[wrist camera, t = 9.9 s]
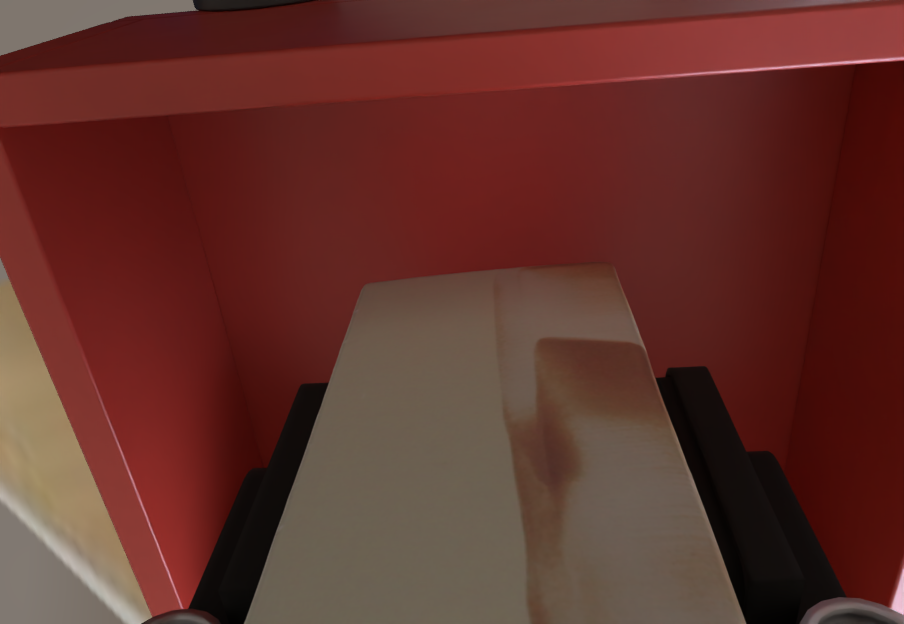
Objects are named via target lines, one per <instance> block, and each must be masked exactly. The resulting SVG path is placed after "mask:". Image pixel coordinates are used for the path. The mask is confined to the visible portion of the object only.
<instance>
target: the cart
mask: <svg viewBox="0 0 904 624" xmlns="http://www.w3.org/2000/svg"><path fill="white" fill-rule="evenodd" d="M193 2H194V6H195V8H196V9H197V10H199V11H187V12H178V13H165V14H155V15H154V14H153V15H142V16H131V17H125V18H122V19H119V20H116V21H113V22H109V23H105V24H101V25H98V26H95V27H92V28H89V29H86V30H82V31H79V32H76V33H72V34H69V35H66V36H63V37H59V38H56V39H53V40H50V41H46V42H43V43H40V44H37V45H34V46H30V47H27V48H24V49H21V50H17V51H14V52H11V53H8V54H4V55H1V56H0V258H1V260H2V263H3V265H4V268H5V270H6V272H7V275H8V277H9V280H10V282H11V284H12V287H13V289H14V291H15V294H16V296H17V298H18V301H19V303H20V305H21V308H22V310H23V313H24V315H25V317H26V320H27V322H28V324H29V327H30V329H31V331H32V334H33V336H34V339H35V341H36V343H37V346H38V348H39V350H40V353H41V355H42V357H43V360H44V362H45V364H46V367H47V369H48V372H49V374H50V376H51V379H52V381H53V383H54V386H55V388H56V390H57V393H58V395H59V398H60V400H61V402H62V405H63V407H64V409H65V412H66V414H67V416H68V419H69V421H70V423H71V426H72V428H73V431H74V433H75V435H76V438H77V440H78V442H79V445H80V447H81V449H82V452H83V454H84V457H85V459H86V461H87V464H88V466H89V468H90V471H91V473H92V475H93V478H94V480H95V482H96V485H97V487H98V490H99V492H100V494H101V497H102V499H103V501H104V504H105V506H106V508H107V511H108V513H109V516H110V518H111V520H112V523H113V525H114V527H115V530H116V532H117V534H118V537H119V539H120V541H121V544H122V546H123V549H124V551H125V553H126V556H127V558H128V560H129V563H130V565H131V567H132V570H133V572H134V575H135V577H136V579H137V582H138V584H139V586H140V589H141V591H142V593H143V596H144V598H145V600H146V603H147V605H148V608H149V610H150V612H151V615H152V617H154V616H157V615H160V614H163V613H166V612H169V611H172V610H180V609H188V608H189V606H190V603H191V601H192V599H193V596H194V594H195V592H196V589H197V587H198V585H199V582H200V580H201V578H202V575H203V573H204V571H205V568H206V566H207V564H208V562H209V559H210V557H211V555H212V552H213V550H214V548H215V545H216V543H217V541H218V538H219V536H220V534H221V531H222V529H223V527H224V524H225V522H226V520H227V517H228V515H229V513H230V510H231V508H232V506H233V503H234V501H235V499H236V496H237V494H238V492H239V489H240V487H241V485H242V483H243V480H244V478H245V476H246V475H247V473H248V471H250V470H251V469H253V468H267V467H268V464H269V462H270V459H271V457H272V454H273V452H274V449H275V447H276V444H277V442H278V439H279V437H280V434H281V432H282V429H283V427H284V424H285V422H286V419H287V417H288V414H289V412H290V409H291V407H292V404H293V402H294V399H295V397H296V394H297V392H298V389H299V387H300V385H301V384H304V383H327V382H329V381H330V378H331V375H332V372H333V369H334V366H335V364H336V361H337V358H338V355H339V352H340V348H341V346H342V343H343V340H344V338H345V335H346V332H347V329H348V327H349V324H350V321H351V318H352V315H353V312H354V309H355V306H356V303H357V300H358V298H359V295H360V292H361V290H362V288H363V287H364V285H366V284H368V283H374V282H383V281H392V280H399V279H407V278H415V277H424V276H433V275H443V274H453V273H462V272H472V271H485V270H494V269H507V268H517V267H528V266H542V265H556V264H570V263H584V262H599V261H600V262H610V263H611V264H613V266H614V267H615V269H616V273H617V276H618V279H619V282H620V284H621V287H622V289H623V292H624V294H625V297H626V299H627V302H628V304H629V307H630V309H631V312H632V314H633V317H634V320H635V322H636V325H637V327H638V330H639V333H640V336H641V339H642V341H643V344H644V346H645V349H646V352H647V355H648V358H649V361H650V364H651V367H652V370H653V373H654V376H655V378H659V377H665V376H666V371H667V369H668V368H671V367H694V366H705V367H707V368H708V370H709V372H710V374H711V376H712V378H713V380H714V382H715V385H716V387H717V389H718V391H719V393H720V396H721V398H722V400H723V402H724V404H725V406H726V409H727V411H728V413H729V415H730V417H731V419H732V422H733V424H734V426H735V428H736V430H737V433H738V435H739V437H740V439H741V441H742V443H743V446H744V448H745V450H746V451H769V452H771V453H772V454H773V455H774V456H775V458H776V459H777V461H778V463H779V464H780V466H781V468H782V470H783V472H784V474H785V476H786V478H787V480H788V482H789V484H790V486H791V488H792V490H793V492H794V494H795V496H796V498H797V500H798V502H799V504H800V506H801V508H802V510H803V512H804V514H805V516H806V518H807V520H808V522H809V524H810V526H811V527H812V529H813V531H814V533H815V535H816V537H817V539H818V541H819V543H820V545H821V547H822V549H823V551H824V553H825V555H826V557H827V559H828V561H829V563H830V565H831V567H832V569H833V571H834V573H835V575H836V577H837V579H838V581H839V583H840V585H841V587H842V589H843V590H844V592H845V594H846V596H847V598H860V599H864V600H868V601H872V602H875V603H879V604H882V605H884V606H886V607H888V608H890V609H892V610H894V611H897V612H899V613H901V614H903V615H904V0H193Z"/></svg>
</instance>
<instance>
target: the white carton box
mask: <svg viewBox="0 0 904 624" xmlns="http://www.w3.org/2000/svg"><path fill="white" fill-rule="evenodd" d="M244 624H746V622H745V619H744V616H743V613H742V611H741V608H740V605H739V603H738V600H737V597H736V594H735V592H734V589H733V586H732V583H731V581H730V578H729V575H728V572H727V569H726V567H725V564H724V561H723V558H722V555H721V552H720V550H719V547H718V544H717V542H716V539H715V536H714V534H713V531H712V528H711V525H710V522H709V520H708V517H707V514H706V512H705V509H704V506H703V504H702V501H701V499H700V496H699V493H698V491H697V488H696V485H695V482H694V480H693V477H692V474H691V472H690V470H689V468H688V465H687V462H686V460H685V457H684V454H683V452H682V449H681V446H680V444H679V441H678V438H677V435H676V433H675V430H674V428H673V425H672V423H671V420H670V418H669V415H668V412H667V410H666V407H665V405H664V402H663V399H662V397H661V394H660V391H659V388H658V385H657V382H656V379H655V376H654V373H653V370H652V367H651V364H650V361H649V358H648V355H647V352H646V349H645V346H644V344H643V341H642V339H641V336H640V333H639V330H638V327H637V325H636V322H635V320H634V317H633V314H632V312H631V309H630V307H629V304H628V302H627V299H626V297H625V294H624V292H623V289H622V287H621V284H620V282H619V279H618V276H617V273H616V269H615V267H614V266H613V264H611V263H610V262H600V261H599V262H584V263H570V264H556V265H542V266H528V267H517V268H507V269H494V270H485V271H472V272H462V273H453V274H443V275H433V276H424V277H415V278H407V279H399V280H392V281H383V282H374V283H368V284H366V285H364V287H363V288H362V290H361V292H360V295H359V298H358V300H357V303H356V306H355V309H354V312H353V315H352V318H351V321H350V324H349V327H348V329H347V332H346V335H345V338H344V340H343V343H342V346H341V348H340V352H339V355H338V358H337V361H336V364H335V366H334V369H333V372H332V375H331V378H330V381H329V384H328V387H327V390H326V393H325V395H324V398H323V402H322V405H321V408H320V410H319V413H318V415H317V418H316V421H315V424H314V427H313V430H312V433H311V436H310V439H309V442H308V445H307V448H306V450H305V453H304V456H303V459H302V462H301V464H300V467H299V470H298V472H297V475H296V478H295V481H294V484H293V486H292V489H291V492H290V494H289V497H288V500H287V503H286V506H285V509H284V512H283V515H282V517H281V520H280V523H279V525H278V528H277V531H276V534H275V536H274V539H273V542H272V545H271V548H270V551H269V554H268V557H267V560H266V563H265V566H264V569H263V572H262V575H261V578H260V581H259V584H258V586H257V589H256V592H255V595H254V598H253V601H252V603H251V606H250V609H249V612H248V615H247V617H246V620H245V622H244Z"/></svg>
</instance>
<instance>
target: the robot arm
mask: <svg viewBox="0 0 904 624" xmlns="http://www.w3.org/2000/svg"><path fill="white" fill-rule="evenodd" d="M655 379H656V382H657V385H658V388H659V391H660V394H661V397H662V399H663V402H664V405H665V407H666V410H667V412H668V415H669V418H670V420H671V423H672V425H673V428H674V430H675V433H676V435H677V438H678V441H679V444H680V446H681V449H682V452H683V454H684V457H685V460H686V462H687V465H688V468H689V470H690V472H691V474H692V477H693V480H694V482H695V485H696V488H697V491H698V493H699V496H700V499H701V501H702V504H703V506H704V509H705V512H706V514H707V517H708V520H709V522H710V525H711V528H712V531H713V534H714V536H715V539H716V542H717V544H718V547H719V550H720V552H721V555H722V558H723V561H724V564H725V567H726V569H727V572H728V575H729V578H730V581H731V583H732V586H733V589H734V592H735V594H736V597H737V600H738V603H739V605H740V608H741V611H742V613H743V616H744V619H745V622H746V624H904V615H903V614H901V613H899V612H897V611H894V610H892V609H890V608H888V607H886V606H884V605H882V604H879V603H875V602H872V601H868V600H864V599H860V598H847V596H846V594H845V592H844V590H843V589H842V587H841V585H840V583H839V581H838V579H837V577H836V575H835V573H834V571H833V569H832V567H831V565H830V563H829V561H828V559H827V557H826V555H825V553H824V551H823V549H822V547H821V545H820V543H819V541H818V539H817V537H816V535H815V533H814V531H813V529H812V527H811V526H810V524H809V522H808V520H807V518H806V516H805V514H804V512H803V510H802V508H801V506H800V504H799V502H798V500H797V498H796V496H795V494H794V492H793V490H792V488H791V486H790V484H789V482H788V480H787V478H786V476H785V474H784V472H783V470H782V468H781V466H780V464H779V463H778V461H777V459H776V458H775V456H774V455H773V454H772V453H771V452H769V451H746V450H745V448H744V446H743V443H742V441H741V439H740V437H739V435H738V433H737V430H736V428H735V426H734V424H733V422H732V419H731V417H730V415H729V413H728V411H727V409H726V406H725V404H724V402H723V400H722V398H721V396H720V393H719V391H718V389H717V387H716V385H715V382H714V380H713V378H712V376H711V374H710V372H709V370H708V368H707V367H705V366H694V367H671V368H668V369H667V371H666V376H665V377H659V378H655ZM328 384H329V382H327V383H304V384H301V385H300V387H299V389H298V392H297V394H296V397H295V399H294V402H293V404H292V407H291V409H290V412H289V414H288V417H287V419H286V422H285V424H284V427H283V429H282V432H281V434H280V437H279V439H278V442H277V444H276V447H275V449H274V452H273V454H272V457H271V459H270V462H269V464H268V467H267V468H253V469H251V470H250V471H248V473H247V475H246V476H245V478H244V480H243V483H242V485H241V487H240V489H239V492H238V494H237V496H236V499H235V501H234V503H233V506H232V508H231V510H230V513H229V515H228V517H227V520H226V522H225V524H224V527H223V529H222V531H221V534H220V536H219V538H218V541H217V543H216V545H215V548H214V550H213V552H212V555H211V557H210V559H209V562H208V564H207V566H206V568H205V571H204V573H203V575H202V578H201V580H200V582H199V585H198V587H197V589H196V592H195V594H194V596H193V599H192V601H191V603H190V606H189V608H188V609H180V610H172V611H169V612H166V613H163V614H160V615H157V616H154V617H152V618H151V619H149V620H147V621H145V622H144V623H142V624H244V622H245V620H246V617H247V615H248V612H249V609H250V606H251V603H252V601H253V598H254V595H255V592H256V589H257V586H258V584H259V581H260V578H261V575H262V572H263V569H264V566H265V563H266V560H267V557H268V554H269V551H270V548H271V545H272V542H273V539H274V536H275V534H276V531H277V528H278V525H279V523H280V520H281V517H282V515H283V512H284V509H285V506H286V503H287V500H288V497H289V494H290V492H291V489H292V486H293V484H294V481H295V478H296V475H297V472H298V470H299V467H300V464H301V462H302V459H303V456H304V453H305V450H306V448H307V445H308V442H309V439H310V436H311V433H312V430H313V427H314V424H315V421H316V418H317V415H318V413H319V410H320V408H321V405H322V402H323V398H324V395H325V393H326V390H327V387H328Z"/></svg>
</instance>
